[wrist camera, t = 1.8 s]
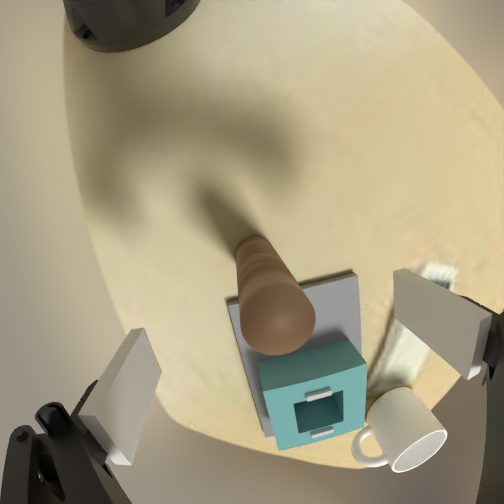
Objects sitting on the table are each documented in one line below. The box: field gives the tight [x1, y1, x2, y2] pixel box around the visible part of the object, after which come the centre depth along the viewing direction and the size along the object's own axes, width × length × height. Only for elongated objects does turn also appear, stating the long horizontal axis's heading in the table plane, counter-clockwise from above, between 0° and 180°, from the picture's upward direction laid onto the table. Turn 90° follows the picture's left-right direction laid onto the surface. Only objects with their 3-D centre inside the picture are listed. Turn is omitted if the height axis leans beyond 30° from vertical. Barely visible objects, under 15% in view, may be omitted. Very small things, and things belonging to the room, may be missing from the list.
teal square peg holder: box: [258, 338, 367, 451], centre depth 27 cm, size 10×10×6 cm
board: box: [228, 272, 361, 437], centre depth 29 cm, size 20×13×1 cm, turn 12°
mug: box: [351, 387, 447, 472], centre depth 28 cm, size 12×8×10 cm
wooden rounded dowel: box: [236, 236, 316, 355], centre depth 20 cm, size 4×4×14 cm
